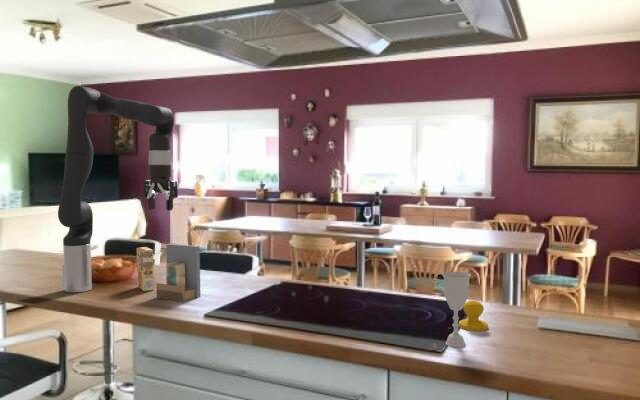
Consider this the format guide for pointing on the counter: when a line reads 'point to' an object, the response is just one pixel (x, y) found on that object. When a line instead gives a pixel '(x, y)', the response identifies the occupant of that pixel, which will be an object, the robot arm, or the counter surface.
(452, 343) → the chalice
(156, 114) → the robot arm
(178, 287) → the cleat board
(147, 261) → the candy box
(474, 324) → the doorknob
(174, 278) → the cabinet block
